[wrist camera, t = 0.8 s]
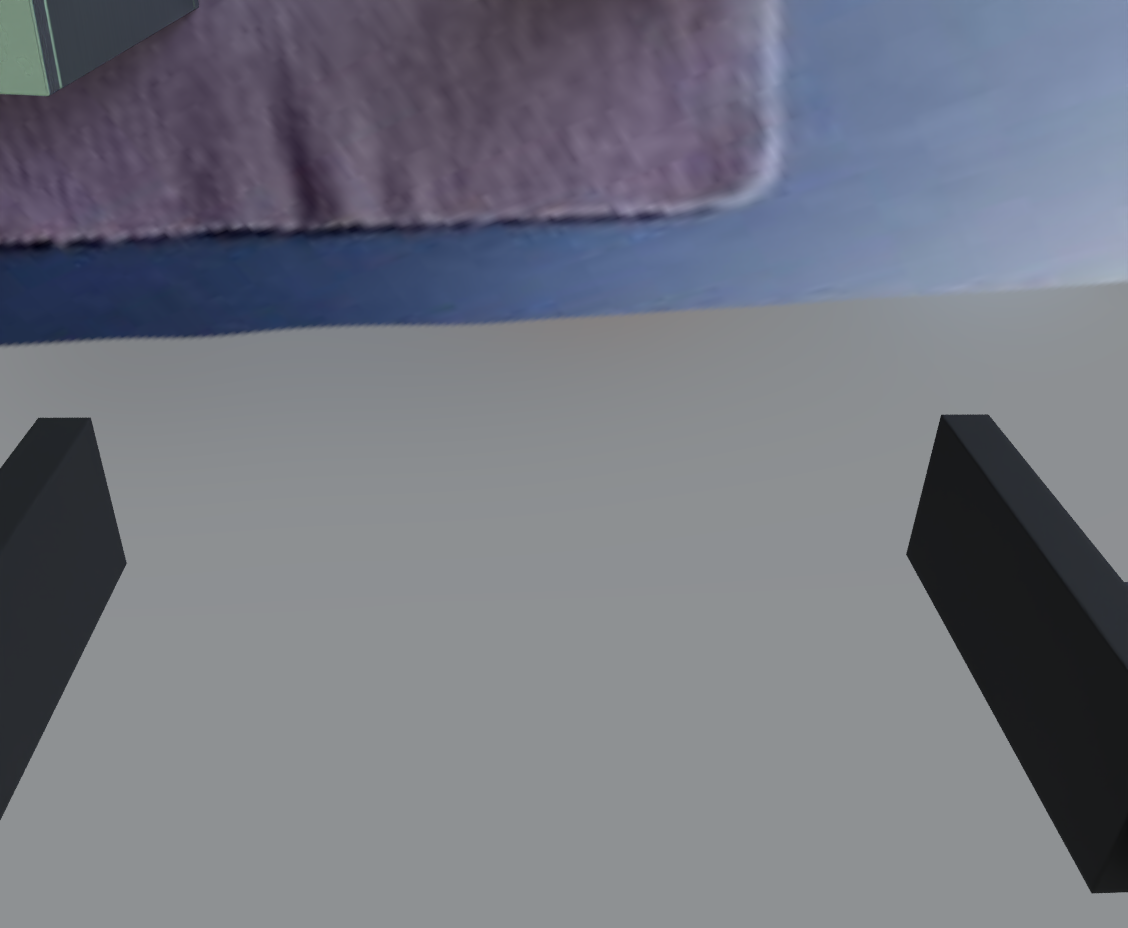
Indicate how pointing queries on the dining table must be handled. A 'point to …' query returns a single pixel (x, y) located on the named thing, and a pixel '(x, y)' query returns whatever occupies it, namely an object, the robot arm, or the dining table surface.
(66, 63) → the bin
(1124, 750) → the robot arm
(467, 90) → the dining table surface
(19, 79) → the lid
